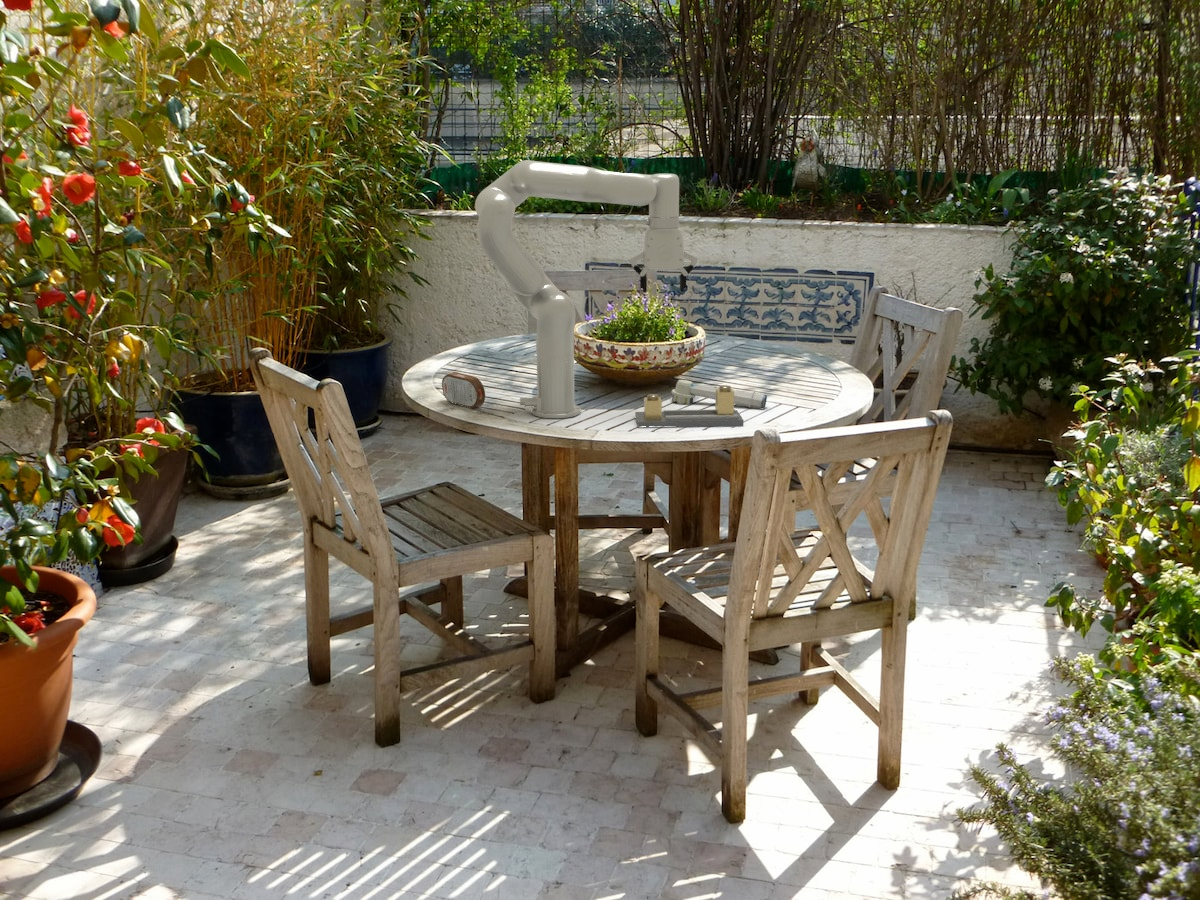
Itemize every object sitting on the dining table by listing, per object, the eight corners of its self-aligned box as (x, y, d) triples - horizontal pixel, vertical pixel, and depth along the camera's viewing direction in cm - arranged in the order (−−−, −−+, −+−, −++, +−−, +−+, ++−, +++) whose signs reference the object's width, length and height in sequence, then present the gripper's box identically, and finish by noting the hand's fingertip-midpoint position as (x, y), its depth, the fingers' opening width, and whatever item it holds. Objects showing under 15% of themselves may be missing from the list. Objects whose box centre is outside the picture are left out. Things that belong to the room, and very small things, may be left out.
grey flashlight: (764, 396, 305) (672, 377, 311) (760, 421, 307) (668, 401, 314) (768, 392, 310) (677, 373, 316) (764, 416, 312) (673, 397, 318)
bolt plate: (638, 427, 290) (638, 418, 289) (635, 417, 300) (635, 408, 299) (743, 426, 291) (743, 417, 291) (736, 415, 301) (737, 407, 300)
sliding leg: (717, 415, 293) (718, 388, 291) (715, 412, 297) (715, 384, 295) (733, 415, 294) (734, 388, 292) (731, 411, 297) (731, 384, 295)
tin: (486, 409, 309) (485, 377, 307) (477, 411, 307) (476, 379, 305) (449, 399, 319) (448, 369, 317) (440, 402, 317) (439, 371, 315)
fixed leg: (645, 418, 293) (645, 397, 291) (644, 414, 296) (644, 393, 295) (661, 418, 293) (661, 396, 291) (659, 414, 297) (660, 393, 295)
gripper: (630, 225, 294) (630, 293, 299) (699, 224, 295) (698, 293, 300) (628, 222, 301) (628, 289, 306) (695, 222, 302) (694, 288, 307)
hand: (663, 291), depth 303 cm, fingers open, 9 cm apart
